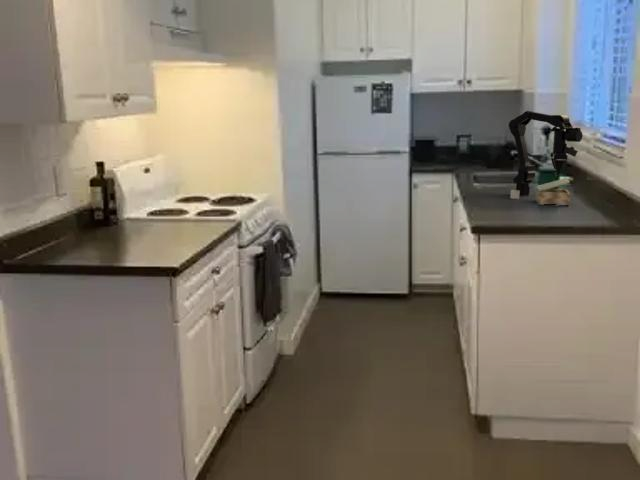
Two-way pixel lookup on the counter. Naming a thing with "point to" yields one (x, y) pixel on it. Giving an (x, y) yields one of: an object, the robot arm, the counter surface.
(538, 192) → the box
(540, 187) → the lid
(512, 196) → the block
